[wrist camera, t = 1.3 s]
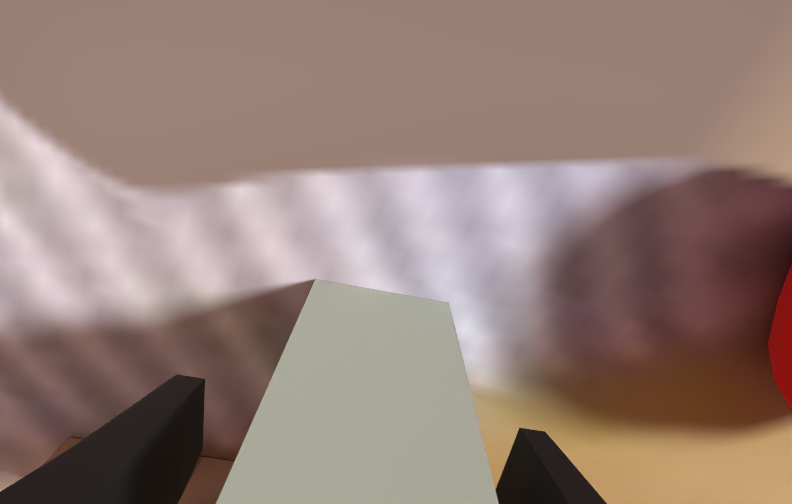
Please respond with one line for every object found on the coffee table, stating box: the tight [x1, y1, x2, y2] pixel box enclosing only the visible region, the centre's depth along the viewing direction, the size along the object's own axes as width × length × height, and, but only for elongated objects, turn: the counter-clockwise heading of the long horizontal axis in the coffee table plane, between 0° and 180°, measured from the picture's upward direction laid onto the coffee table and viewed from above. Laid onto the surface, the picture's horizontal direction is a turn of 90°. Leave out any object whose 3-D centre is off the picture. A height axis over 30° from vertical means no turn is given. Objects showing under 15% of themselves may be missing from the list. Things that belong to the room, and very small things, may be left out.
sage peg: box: [216, 279, 499, 504], centre depth 9 cm, size 4×4×8 cm
